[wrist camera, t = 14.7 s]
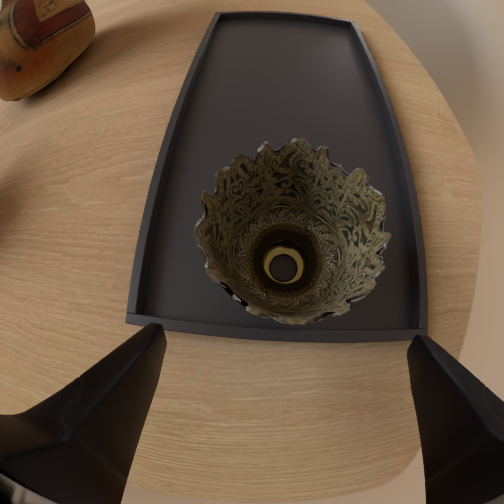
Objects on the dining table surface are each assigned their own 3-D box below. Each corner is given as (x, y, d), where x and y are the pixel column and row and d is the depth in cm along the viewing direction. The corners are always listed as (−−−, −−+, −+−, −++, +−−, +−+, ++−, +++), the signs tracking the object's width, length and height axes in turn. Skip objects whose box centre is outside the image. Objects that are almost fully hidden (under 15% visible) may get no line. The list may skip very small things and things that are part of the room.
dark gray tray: (414, 339, 16) (427, 338, 14) (137, 324, 17) (125, 323, 15) (352, 30, 27) (354, 21, 25) (217, 21, 28) (215, 12, 26)
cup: (361, 262, 17) (421, 214, 10) (289, 351, 16) (312, 368, 8) (276, 194, 19) (282, 112, 11) (201, 272, 17) (155, 226, 10)
